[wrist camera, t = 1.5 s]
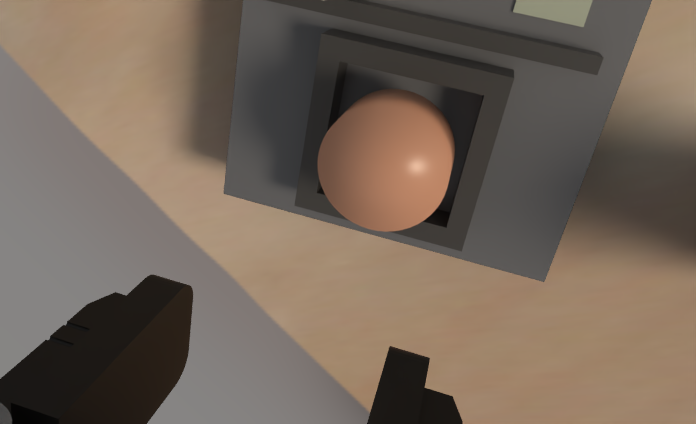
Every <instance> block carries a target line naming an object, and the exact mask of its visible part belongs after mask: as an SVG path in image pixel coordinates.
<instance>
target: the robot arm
mask: <svg viewBox="0 0 696 424" xmlns="http://www.w3.org/2000/svg"><path fill="white" fill-rule="evenodd" d="M192 302H193V290H192V288H191V286H189V285H186V284H183V283H180V282H176V281H172V280H170V279H166V278H163V277H160V276H156V275H150V276H148V277H147V278H145V279H144V280H143V281H142V282H141V283H140V284H139V285H137V287H135V288H134V289H133V290H132V291H131V292H130V293H129V294H128V295H127V296H125V295H122V294H119V293H116V292H115V293H113V294H111V295H108V296H106V297H103V298H101V299H99V300H96V301H94V302H92V303H89V304H87V305H86V306H85V307H84V308H83V309H81V310H80V311H79V312H78V313H77V314H76V315H74V316H73V318H71V319H70V320H69V321H67V324H66V326H65V325H63V326H62V327H60V328H59V329H58V330H57V331H56V332H55V333H53V334H52V335H51V336H50V339H49V340H45V341H44V342H43V343H42V344H41V345H39V346H38V347H37V348H36V349H35V350H34V351H32V352H31V353H30V354H29V355H28V356H27V357H25V358H24V359H23V360H22V361H21V362H20V363H18V364H17V365H16V366H15V367H14V368H13V369H11V370H10V371H9V372H8V373H7V374H6V375H5V376H3V377H2V378H1V379H0V424H147V423H148V421H149V420H150V419H151V417H152V416H153V414H154V413H155V412H156V411H157V409H158V408H159V407H160V405H161V404H162V403H163V401H164V400H165V399H166V397H167V396H168V395H169V393H170V392H171V391H172V389H173V388H174V387H175V385H176V384H177V382H178V380H179V379H180V376H181V375H182V372H183V370H184V367H185V364H186V361H187V357H188V351H189V339H190V326H191V314H192ZM429 360H430V358H428V357H425V356H421V355H418V354H415V353H411V352H408V351H405V350H401V349H398V348H395V347H391V346H390V347H389V351H388V354H387V357H386V361H385V364H384V368H383V371H382V375H381V378H380V381H379V385H378V388H377V392H376V395H375V399H374V402H373V405H372V409H371V412H370V416H369V419H368V423H367V424H462V419H461V417H460V414H459V412H458V409H457V407H456V404H455V402H454V399H453V397H452V396H450V395H446V394H443V393H440V392H437V391H433V390H430V389H427V388H424V387H425V382H426V377H427V371H428V366H429Z"/></svg>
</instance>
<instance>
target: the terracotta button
mask: <svg viewBox="0 0 696 424" xmlns="http://www.w3.org/2000/svg"><path fill="white" fill-rule="evenodd" d="M454 157H455V141H454V137H453V132H452V130H451V127H450V125H449V123H448V121H447V119H446V118H445V116H444V115H443V113H442V112H441V111H440V110H439V109H438V108H437V107H436V106H435V105H434V104H433V103H432V102H431V101H429V100H428V99H426V98H424V97H423V96H421V95H419V94H416V93H414V92H411V91H407V90H402V89H383V90H379V91H375V92H372V93H369V94H367V95H365V96H363V97H362V98H360V99H359V100H357V101H356V102H355V103H354V104H353V105H352V106H351V107H350V108H349V109H348V110H347V111H346V112H345V113H344V114H343V115H342V116H341V117H340V118H339V119H338V120H337V121H336V122H335V123H334V124H333V125H332V126H331V128H330V129H329V130H328V131H327V133H326V135H325V137H324V138H323V141H322V143H321V146H320V149H319V154H318V175H319V180H320V183H321V186H322V189H323V191H324V193H325V195H326V197H327V198H328V200H329V201H330V203H331V204H332V205H333V207H334V208H335V209H336V210H337V211H338V212H339V213H340V214H341V215H343V216H344V217H345V218H346V219H348V220H350V221H351V222H353V223H355V224H357V225H359V226H361V227H364V228H367V229H371V230H375V231H384V232H388V231H399V230H404V229H407V228H410V227H413V226H415V225H417V224H419V223H421V222H422V221H424V220H425V219H426V218H428V217H429V216H430V215H431V214H432V213H433V212H434V211H435V210H436V209H437V207H438V206H439V205H440V203H441V201H442V200H443V198H444V196H445V193H446V190H447V187H448V183H449V179H450V175H451V171H452V167H453V162H454Z"/></svg>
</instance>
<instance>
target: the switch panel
mask: <svg viewBox="0 0 696 424" xmlns="http://www.w3.org/2000/svg"><path fill="white" fill-rule="evenodd" d="M651 1H652V0H243V5H242V15H241V25H240V35H239V45H238V55H237V65H236V75H235V85H234V95H233V105H232V115H231V125H230V135H229V145H228V155H227V165H226V175H225V185H224V194H227V195H230V196H234V197H238V198H241V199H245V200H248V201H252V202H256V203H259V204H263V205H267V206H270V207H274V208H277V209H281V210H285V211H288V212H292V213H296V214H299V215H303V216H306V217H310V218H314V219H317V220H321V221H325V222H328V223H332V224H335V225H339V226H343V227H346V228H350V229H354V230H357V231H361V232H365V233H368V234H372V235H375V236H379V237H383V238H386V239H390V240H394V241H397V242H401V243H404V244H408V245H412V246H415V247H419V248H423V249H426V250H430V251H433V252H437V253H441V254H444V255H448V256H452V257H455V258H459V259H463V260H466V261H470V262H473V263H477V264H481V265H484V266H488V267H492V268H495V269H499V270H502V271H506V272H510V273H513V274H517V275H521V276H524V277H528V278H531V279H535V280H539V281H542V282H544V281H545V279H546V276H547V273H548V271H549V268H550V266H551V263H552V260H553V258H554V255H555V253H556V250H557V247H558V245H559V242H560V239H561V237H562V234H563V232H564V229H565V226H566V224H567V221H568V219H569V216H570V213H571V211H572V208H573V205H574V203H575V200H576V198H577V195H578V192H579V190H580V187H581V185H582V182H583V179H584V177H585V174H586V171H587V169H588V166H589V164H590V161H591V158H592V156H593V153H594V151H595V148H596V145H597V143H598V140H599V137H600V135H601V132H602V130H603V127H604V124H605V122H606V119H607V117H608V114H609V111H610V109H611V106H612V103H613V101H614V98H615V96H616V93H617V90H618V88H619V85H620V83H621V80H622V77H623V75H624V72H625V69H626V67H627V64H628V62H629V59H630V56H631V54H632V51H633V49H634V46H635V43H636V41H637V38H638V35H639V33H640V30H641V28H642V25H643V22H644V20H645V17H646V15H647V12H648V9H649V7H650V4H651ZM383 89H402V90H407V91H411V92H414V93H416V94H419V95H421V96H423V97H424V98H426V99H428V100H429V101H431V102H432V103H433V104H434V105H435V106H436V107H437V108H438V109H439V110H440V111H441V112H442V113H443V115H444V116H445V118H446V119H447V121H448V123H449V125H450V127H451V130H452V132H453V137H454V141H455V157H454V162H453V167H452V171H451V175H450V179H449V183H448V187H447V190H446V193H445V196H444V198H443V200H442V201H441V203H440V205H439V206H438V207H437V209H436V210H435V211H434V212H433V213H432V214H431V215H430V216H429V217H428V218H426V219H425V220H424V221H422V222H421V223H419V224H417V225H415V226H413V227H410V228H407V229H404V230H399V231H388V232H384V231H375V230H371V229H367V228H364V227H361V226H359V225H357V224H355V223H353V222H351V221H350V220H348V219H346V218H345V217H344V216H343V215H341V214H340V213H339V212H338V211H337V210H336V209H335V208H334V207H333V205H332V204H331V203H330V201H329V200H328V198H327V197H326V195H325V193H324V191H323V189H322V186H321V183H320V180H319V175H318V154H319V149H320V146H321V143H322V141H323V138H324V137H325V135H326V133H327V131H328V130H329V129H330V128H331V126H332V125H333V124H334V123H335V122H336V121H337V120H338V119H339V118H340V117H341V116H342V115H343V114H344V113H345V112H346V111H347V110H348V109H349V108H350V107H351V106H352V105H353V104H354V103H355V102H356V101H357V100H359V99H360V98H362V97H363V96H365V95H367V94H369V93H372V92H375V91H379V90H383Z"/></svg>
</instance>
